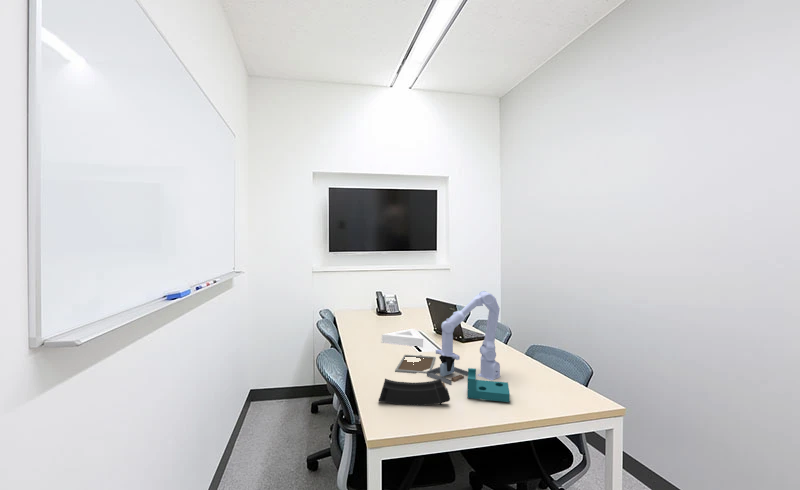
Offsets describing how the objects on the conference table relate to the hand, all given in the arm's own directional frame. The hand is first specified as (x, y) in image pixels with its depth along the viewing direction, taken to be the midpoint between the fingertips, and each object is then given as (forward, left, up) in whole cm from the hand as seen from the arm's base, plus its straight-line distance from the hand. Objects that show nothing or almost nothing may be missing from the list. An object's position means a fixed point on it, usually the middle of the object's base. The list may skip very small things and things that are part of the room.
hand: (447, 370), depth 186 cm
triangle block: (+57, -29, -4) cm, 64 cm away
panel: (0, 0, -2) cm, 2 cm away
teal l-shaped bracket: (-28, +5, -4) cm, 29 cm away
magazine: (-11, +35, -3) cm, 37 cm away
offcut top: (-7, 0, -3) cm, 7 cm away
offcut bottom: (-7, 0, -4) cm, 8 cm away
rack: (-1, 0, -3) cm, 3 cm away
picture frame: (+24, -2, -4) cm, 24 cm away
